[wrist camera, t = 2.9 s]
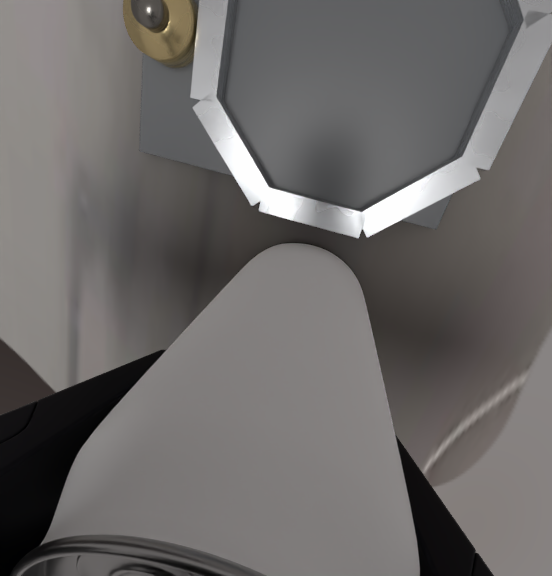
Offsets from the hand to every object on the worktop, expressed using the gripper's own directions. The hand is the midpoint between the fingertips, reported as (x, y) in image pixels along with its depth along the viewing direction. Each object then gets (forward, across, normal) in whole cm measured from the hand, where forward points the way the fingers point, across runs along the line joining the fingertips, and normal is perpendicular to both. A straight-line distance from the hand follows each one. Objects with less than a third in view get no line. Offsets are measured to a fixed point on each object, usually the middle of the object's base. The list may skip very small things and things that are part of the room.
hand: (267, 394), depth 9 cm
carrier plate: (+6, +2, -10) cm, 12 cm away
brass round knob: (+7, +7, -10) cm, 14 cm away
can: (+7, 0, 0) cm, 7 cm away
